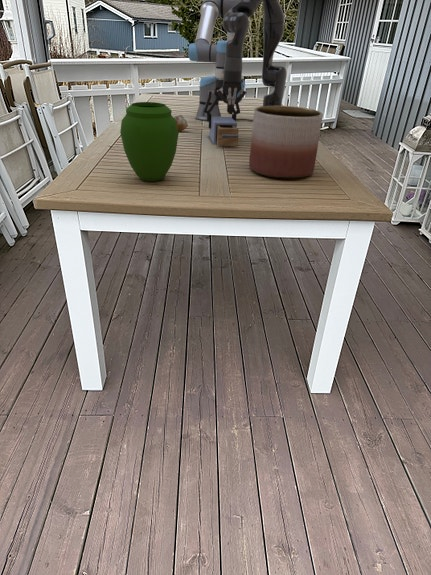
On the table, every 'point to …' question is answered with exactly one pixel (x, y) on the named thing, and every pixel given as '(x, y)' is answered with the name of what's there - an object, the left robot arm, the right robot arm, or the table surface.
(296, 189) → the table surface
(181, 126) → the seashell
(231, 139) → the drawer
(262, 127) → the planter
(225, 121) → the cabinet
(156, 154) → the vase
